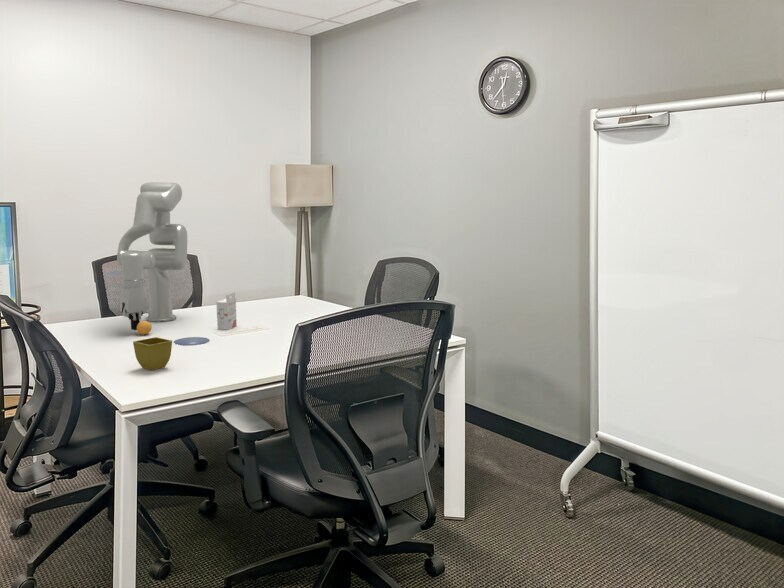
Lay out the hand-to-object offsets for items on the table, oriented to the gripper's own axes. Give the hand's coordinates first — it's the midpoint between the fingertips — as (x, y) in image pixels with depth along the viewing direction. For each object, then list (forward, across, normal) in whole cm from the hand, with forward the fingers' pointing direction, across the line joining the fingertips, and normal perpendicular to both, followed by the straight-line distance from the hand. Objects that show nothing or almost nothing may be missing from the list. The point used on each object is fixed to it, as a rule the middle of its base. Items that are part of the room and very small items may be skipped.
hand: (135, 329), depth 253 cm
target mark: (+2, -1, +29) cm, 29 cm away
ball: (-1, 0, +4) cm, 4 cm away
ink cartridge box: (+2, -27, +23) cm, 36 cm away
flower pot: (+2, +32, +46) cm, 56 cm away
